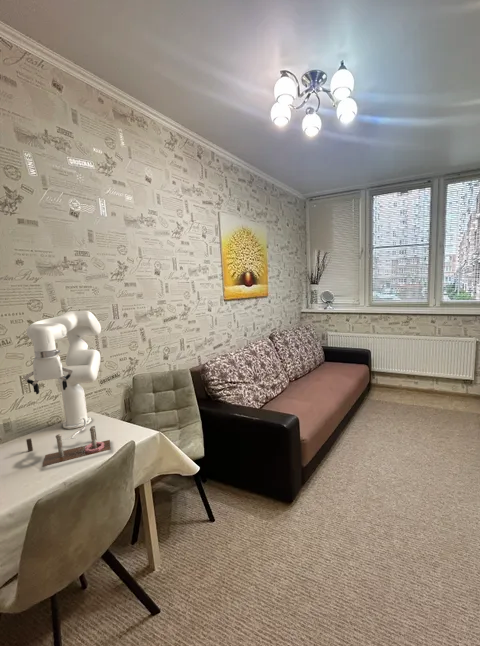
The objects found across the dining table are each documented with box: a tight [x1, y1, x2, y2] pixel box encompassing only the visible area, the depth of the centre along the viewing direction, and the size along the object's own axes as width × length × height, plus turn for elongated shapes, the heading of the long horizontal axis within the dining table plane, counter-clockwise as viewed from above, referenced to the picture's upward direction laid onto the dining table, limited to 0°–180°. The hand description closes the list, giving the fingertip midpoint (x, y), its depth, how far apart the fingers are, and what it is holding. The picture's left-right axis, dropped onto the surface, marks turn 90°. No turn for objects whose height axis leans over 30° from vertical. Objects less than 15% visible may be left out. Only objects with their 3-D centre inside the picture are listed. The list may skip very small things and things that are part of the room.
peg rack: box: [41, 426, 111, 468], centre depth 133 cm, size 10×24×12 cm, turn 122°
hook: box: [62, 417, 87, 441], centre depth 149 cm, size 7×9×20 cm
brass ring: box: [25, 438, 34, 453], centre depth 130 cm, size 12×7×7 cm, turn 32°
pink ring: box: [85, 425, 104, 453], centre depth 138 cm, size 12×7×7 cm, turn 32°
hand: (51, 391), depth 138 cm, fingers open, 9 cm apart
